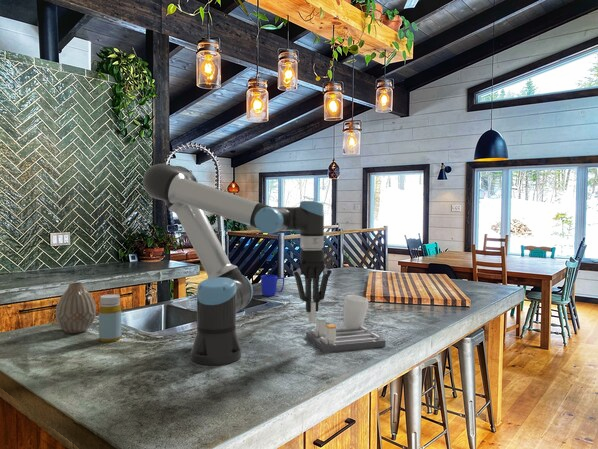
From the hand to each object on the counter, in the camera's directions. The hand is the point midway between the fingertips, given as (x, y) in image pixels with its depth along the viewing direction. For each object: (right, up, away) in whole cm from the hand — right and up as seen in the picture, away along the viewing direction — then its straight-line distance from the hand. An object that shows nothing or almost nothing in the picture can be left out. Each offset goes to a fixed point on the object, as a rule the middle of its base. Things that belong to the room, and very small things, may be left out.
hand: (312, 321), depth 143 cm
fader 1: (+3, -6, +11) cm, 13 cm away
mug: (-18, -5, +84) cm, 86 cm away
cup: (+16, -8, +23) cm, 29 cm away
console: (+11, -9, +9) cm, 17 cm away
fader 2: (+6, -7, +3) cm, 10 cm away
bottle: (-69, -8, +8) cm, 70 cm away
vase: (-85, -7, +18) cm, 87 cm away
